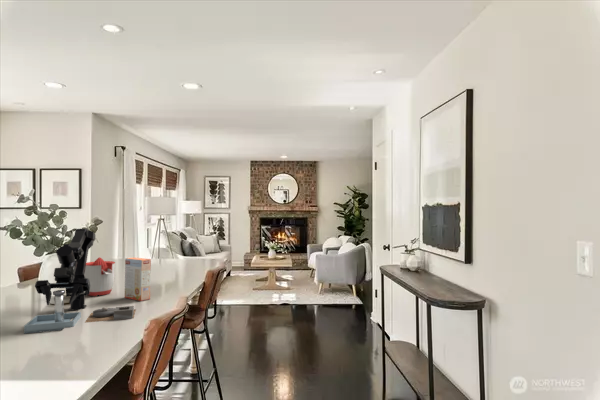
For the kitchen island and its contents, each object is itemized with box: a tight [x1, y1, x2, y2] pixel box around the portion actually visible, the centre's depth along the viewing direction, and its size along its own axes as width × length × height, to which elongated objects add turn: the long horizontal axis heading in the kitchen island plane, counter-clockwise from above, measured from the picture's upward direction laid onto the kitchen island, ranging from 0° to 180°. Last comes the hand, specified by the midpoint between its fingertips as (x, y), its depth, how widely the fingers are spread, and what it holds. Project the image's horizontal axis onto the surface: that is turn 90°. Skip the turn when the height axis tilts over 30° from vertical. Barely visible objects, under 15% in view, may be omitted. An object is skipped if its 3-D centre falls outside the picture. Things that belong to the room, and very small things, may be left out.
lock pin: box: [52, 289, 66, 322], centre depth 149 cm, size 4×4×13 cm
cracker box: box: [124, 257, 152, 302], centre depth 195 cm, size 14×6×21 cm, turn 58°
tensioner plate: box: [84, 305, 137, 324], centre depth 160 cm, size 15×18×4 cm
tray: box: [23, 311, 82, 335], centre depth 149 cm, size 14×16×3 cm
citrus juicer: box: [84, 257, 116, 297], centre depth 205 cm, size 16×17×20 cm
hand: (58, 304), depth 147 cm, fingers open, 7 cm apart
